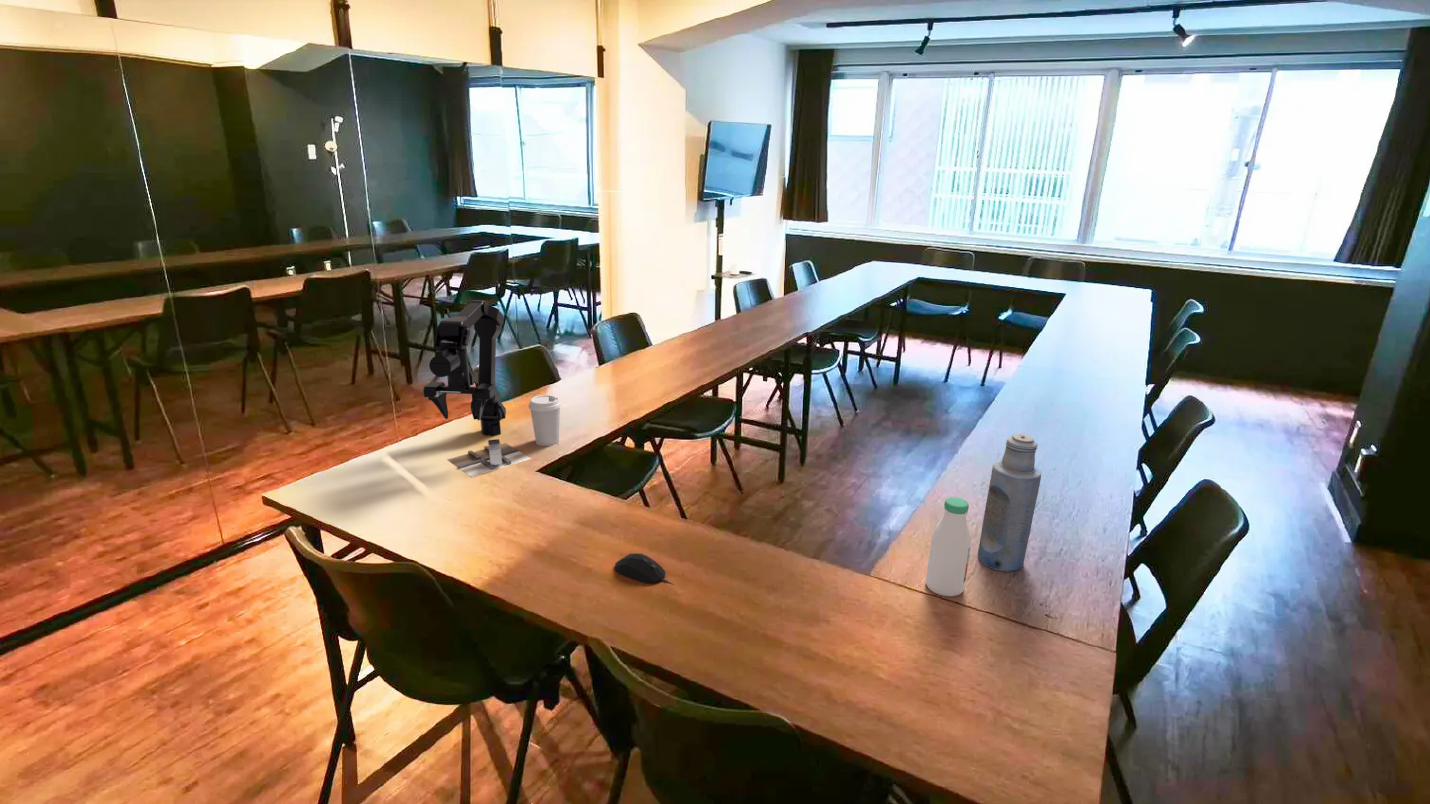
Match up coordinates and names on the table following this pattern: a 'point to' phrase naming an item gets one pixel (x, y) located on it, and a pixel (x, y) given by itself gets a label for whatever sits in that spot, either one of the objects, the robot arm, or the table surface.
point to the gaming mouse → (641, 569)
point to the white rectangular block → (495, 452)
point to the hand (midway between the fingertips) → (463, 419)
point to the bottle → (1010, 506)
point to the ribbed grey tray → (487, 460)
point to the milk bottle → (949, 550)
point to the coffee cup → (545, 419)
